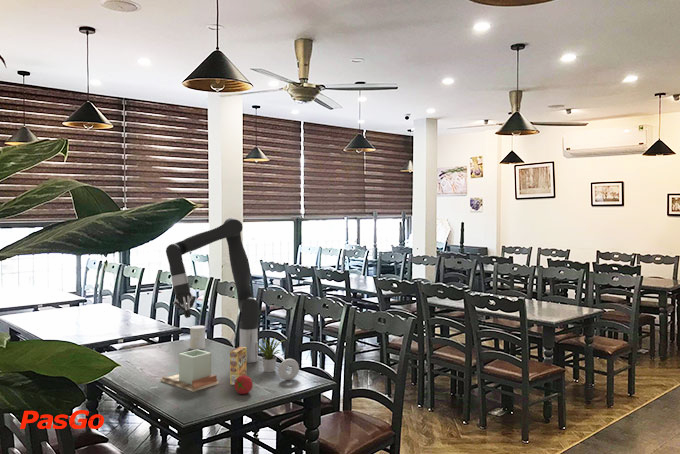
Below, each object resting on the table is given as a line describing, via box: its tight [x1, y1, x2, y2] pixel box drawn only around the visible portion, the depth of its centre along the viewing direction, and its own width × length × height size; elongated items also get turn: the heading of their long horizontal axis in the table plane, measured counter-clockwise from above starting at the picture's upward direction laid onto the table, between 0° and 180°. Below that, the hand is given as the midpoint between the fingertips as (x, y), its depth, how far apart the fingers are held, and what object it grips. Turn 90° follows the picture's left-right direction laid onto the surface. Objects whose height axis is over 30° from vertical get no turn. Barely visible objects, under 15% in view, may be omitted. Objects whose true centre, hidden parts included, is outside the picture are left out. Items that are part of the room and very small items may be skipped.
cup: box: [189, 325, 206, 350], centre depth 310 cm, size 8×8×12 cm
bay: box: [160, 373, 220, 393], centre depth 247 cm, size 24×14×4 cm, turn 52°
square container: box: [178, 349, 212, 385], centre depth 245 cm, size 10×10×13 cm
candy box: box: [229, 346, 248, 386], centre depth 248 cm, size 9×4×15 cm, turn 162°
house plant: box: [257, 337, 286, 373], centre depth 268 cm, size 14×14×16 cm
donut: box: [277, 358, 300, 381], centre depth 252 cm, size 10×4×10 cm, turn 116°
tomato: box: [234, 375, 254, 395], centre depth 232 cm, size 8×8×8 cm
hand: (188, 317), depth 270 cm, fingers closed
